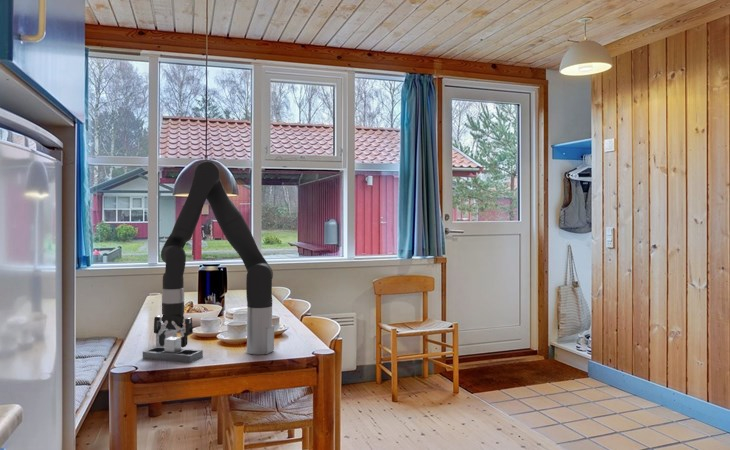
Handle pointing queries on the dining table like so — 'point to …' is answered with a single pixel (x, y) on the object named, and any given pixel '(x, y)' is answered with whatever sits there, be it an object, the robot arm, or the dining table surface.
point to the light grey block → (172, 345)
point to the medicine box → (166, 335)
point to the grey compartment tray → (173, 355)
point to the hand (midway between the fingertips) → (173, 346)
